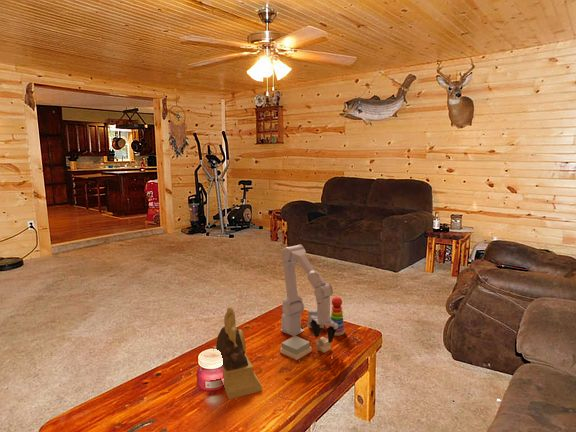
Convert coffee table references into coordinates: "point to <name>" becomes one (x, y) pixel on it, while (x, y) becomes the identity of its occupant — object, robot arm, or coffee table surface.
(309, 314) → the medicine box
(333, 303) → the stacking toy
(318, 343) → the ash cube
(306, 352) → the bottom slab
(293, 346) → the top slab
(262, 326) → the coffee table surface
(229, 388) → the seated figure statue
